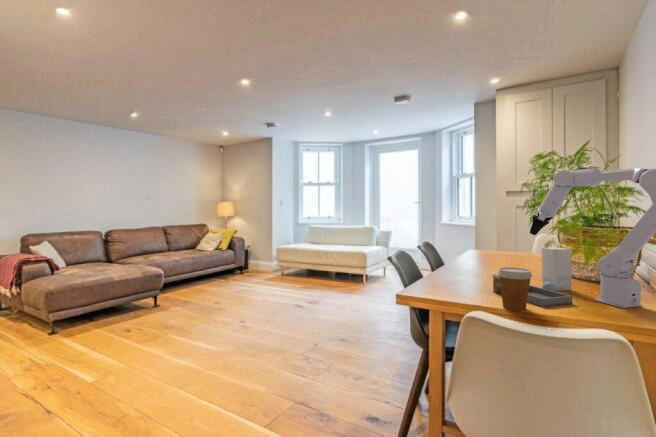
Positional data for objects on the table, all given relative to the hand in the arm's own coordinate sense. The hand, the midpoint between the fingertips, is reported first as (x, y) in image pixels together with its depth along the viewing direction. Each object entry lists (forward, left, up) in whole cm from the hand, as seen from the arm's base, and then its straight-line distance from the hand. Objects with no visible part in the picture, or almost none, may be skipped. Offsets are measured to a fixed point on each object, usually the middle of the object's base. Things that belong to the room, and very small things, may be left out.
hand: (534, 231), depth 133 cm
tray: (-14, +14, -22) cm, 30 cm away
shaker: (-3, +19, -22) cm, 29 cm away
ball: (-10, +4, -22) cm, 24 cm away
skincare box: (-4, -6, -22) cm, 23 cm away
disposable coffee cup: (-20, +29, -22) cm, 42 cm away
